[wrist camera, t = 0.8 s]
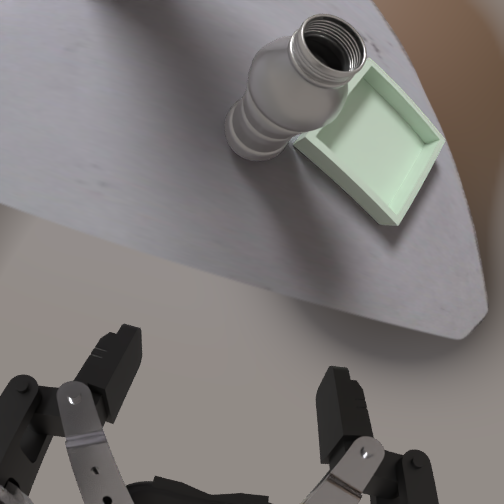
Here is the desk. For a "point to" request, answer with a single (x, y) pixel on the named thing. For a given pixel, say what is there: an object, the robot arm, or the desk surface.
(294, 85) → the plastic bottle
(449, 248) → the desk surface
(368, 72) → the green tray
